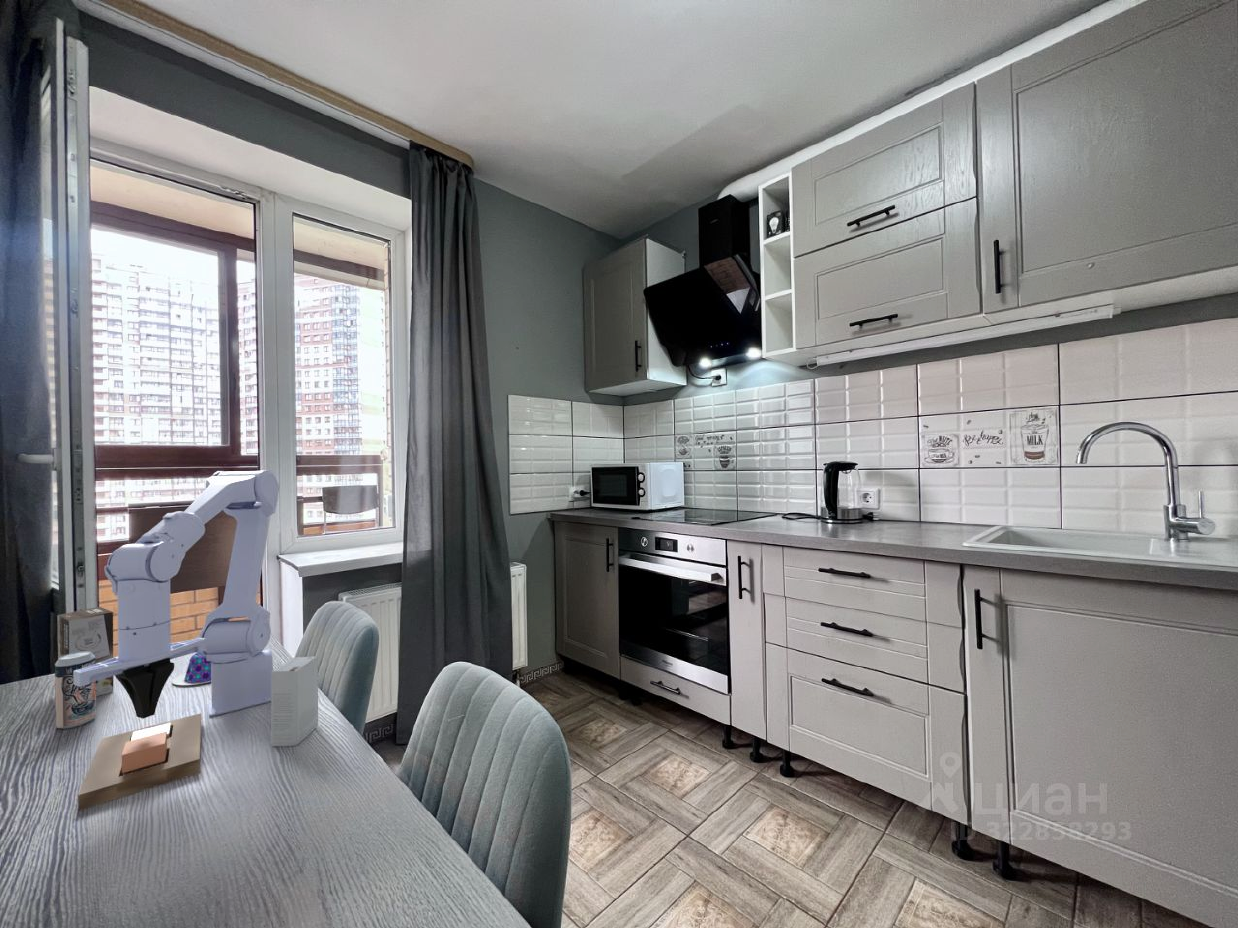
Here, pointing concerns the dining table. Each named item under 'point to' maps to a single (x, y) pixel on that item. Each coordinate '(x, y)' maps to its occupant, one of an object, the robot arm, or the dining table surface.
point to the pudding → (195, 671)
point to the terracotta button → (144, 752)
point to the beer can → (73, 691)
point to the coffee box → (88, 638)
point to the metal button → (152, 731)
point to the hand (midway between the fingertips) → (145, 715)
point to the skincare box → (294, 701)
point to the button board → (113, 784)
